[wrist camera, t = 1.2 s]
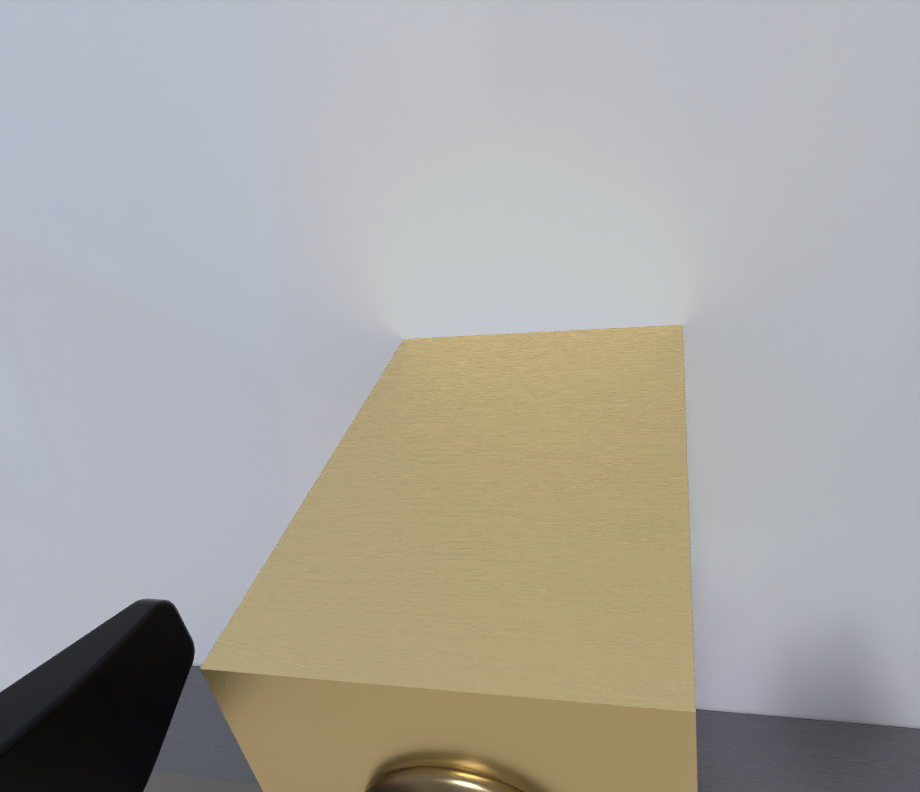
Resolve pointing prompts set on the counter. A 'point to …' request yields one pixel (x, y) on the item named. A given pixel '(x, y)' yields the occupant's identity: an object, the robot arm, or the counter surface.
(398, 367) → the brass block
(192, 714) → the tray
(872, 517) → the counter surface
